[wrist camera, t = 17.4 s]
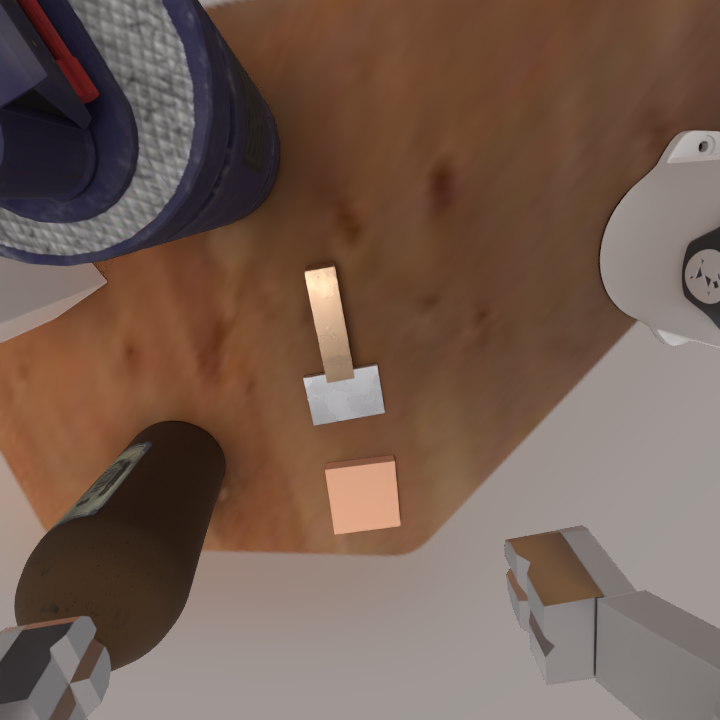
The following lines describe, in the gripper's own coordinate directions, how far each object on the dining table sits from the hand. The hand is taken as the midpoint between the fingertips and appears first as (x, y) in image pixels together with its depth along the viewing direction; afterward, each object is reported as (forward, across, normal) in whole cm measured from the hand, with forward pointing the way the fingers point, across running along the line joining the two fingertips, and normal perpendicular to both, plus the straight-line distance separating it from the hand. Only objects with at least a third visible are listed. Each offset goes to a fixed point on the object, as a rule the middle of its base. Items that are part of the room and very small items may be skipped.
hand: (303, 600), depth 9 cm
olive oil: (+34, +18, +15) cm, 41 cm away
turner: (+34, 0, +6) cm, 35 cm away
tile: (+34, 0, +18) cm, 38 cm away
